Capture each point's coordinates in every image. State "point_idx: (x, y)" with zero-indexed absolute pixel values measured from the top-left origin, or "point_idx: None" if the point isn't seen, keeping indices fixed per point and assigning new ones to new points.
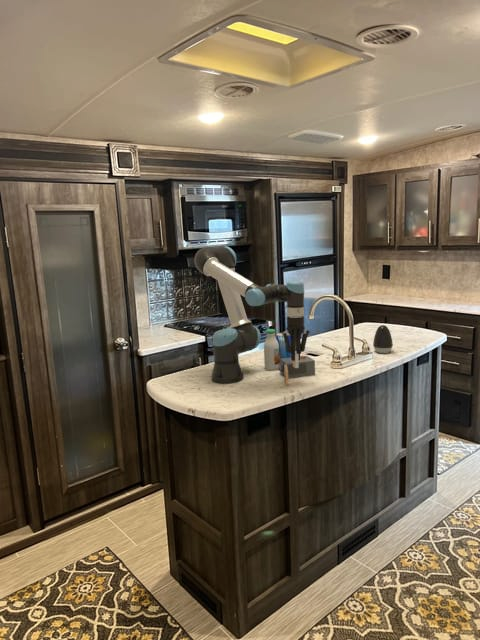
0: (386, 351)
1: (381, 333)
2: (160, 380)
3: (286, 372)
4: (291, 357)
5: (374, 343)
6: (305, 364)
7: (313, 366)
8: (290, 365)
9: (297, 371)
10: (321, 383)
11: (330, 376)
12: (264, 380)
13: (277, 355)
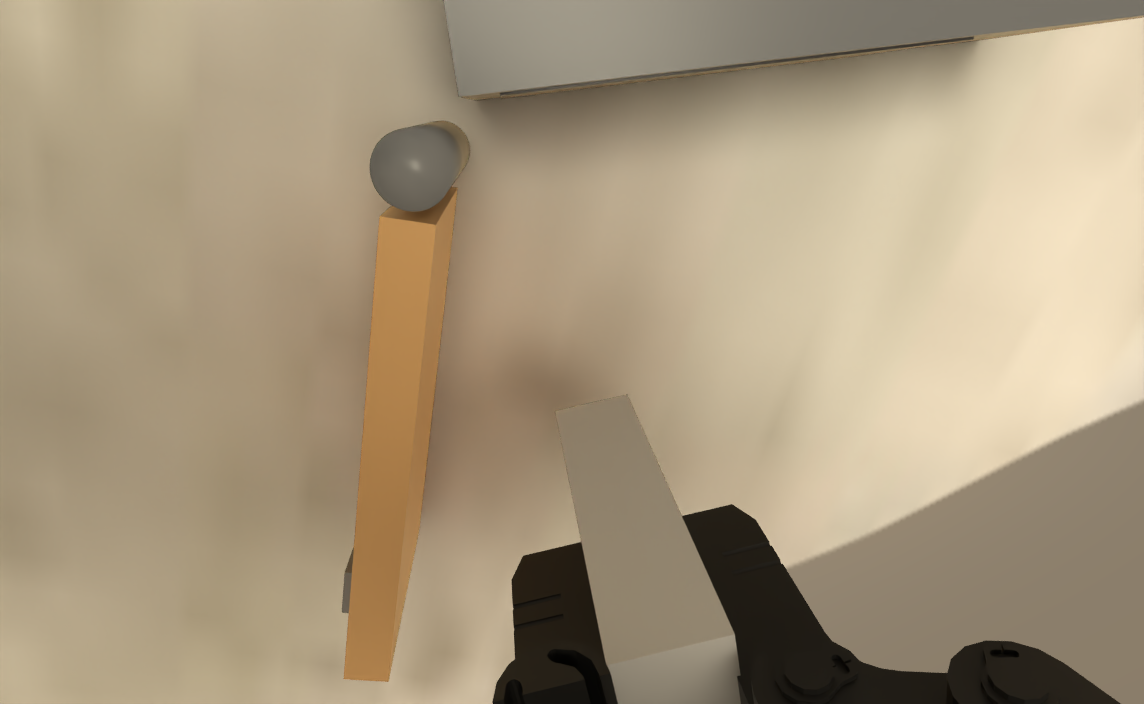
0: None
1: None
2: None
3: (360, 672)
4: (517, 633)
5: None
6: (933, 44)
7: (1072, 26)
8: (559, 87)
9: (691, 75)
10: (876, 464)
11: (1137, 202)
12: (44, 103)
13: None
